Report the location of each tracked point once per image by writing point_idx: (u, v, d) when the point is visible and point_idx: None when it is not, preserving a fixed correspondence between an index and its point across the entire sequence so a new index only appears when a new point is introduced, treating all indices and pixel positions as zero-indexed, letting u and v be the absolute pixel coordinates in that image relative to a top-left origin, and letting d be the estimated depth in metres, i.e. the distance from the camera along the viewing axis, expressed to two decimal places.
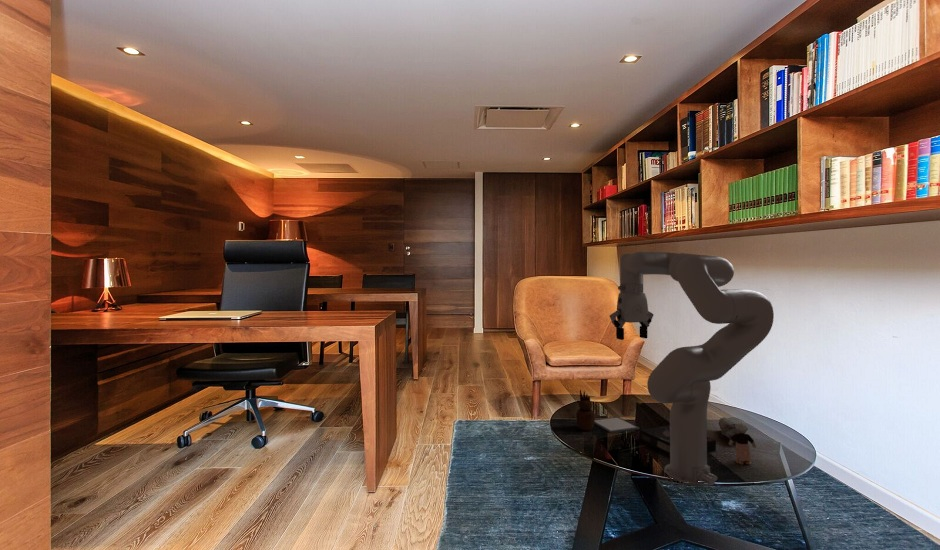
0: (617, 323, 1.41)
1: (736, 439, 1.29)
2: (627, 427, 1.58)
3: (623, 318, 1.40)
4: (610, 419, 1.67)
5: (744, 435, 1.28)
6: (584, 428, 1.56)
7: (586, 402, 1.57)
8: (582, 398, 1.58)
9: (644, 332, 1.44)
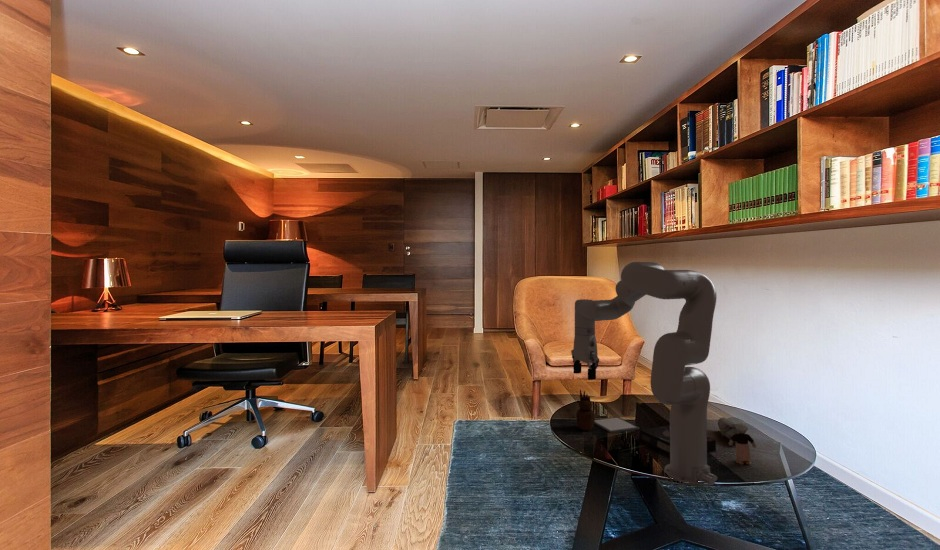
0: None
1: (736, 439, 1.29)
2: (627, 427, 1.58)
3: None
4: (610, 419, 1.67)
5: (744, 435, 1.28)
6: (584, 428, 1.56)
7: (586, 402, 1.56)
8: (582, 398, 1.58)
9: (580, 368, 1.63)
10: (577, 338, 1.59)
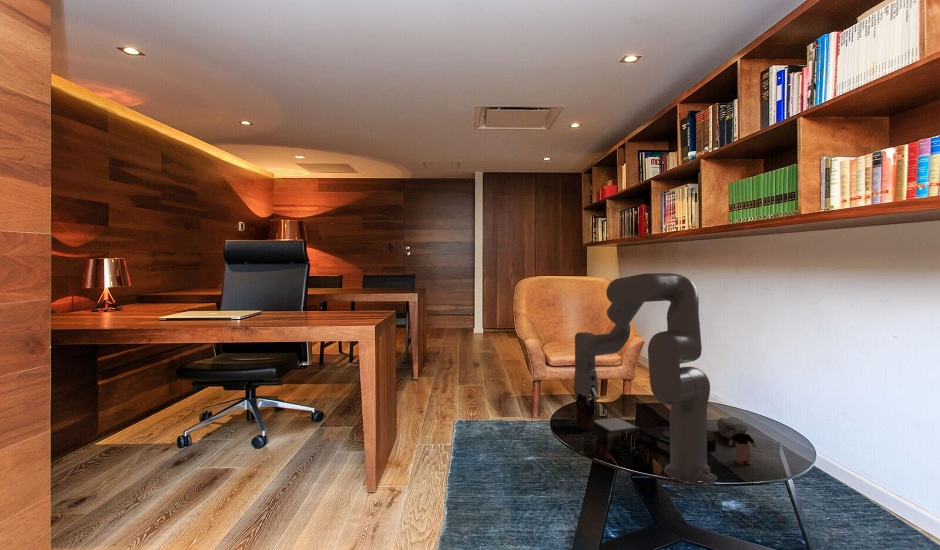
0: None
1: (736, 439, 1.29)
2: (627, 427, 1.58)
3: (597, 393, 1.54)
4: (610, 419, 1.67)
5: (744, 435, 1.28)
6: (584, 428, 1.56)
7: (586, 402, 1.57)
8: (582, 398, 1.58)
9: None
10: (578, 371, 1.58)
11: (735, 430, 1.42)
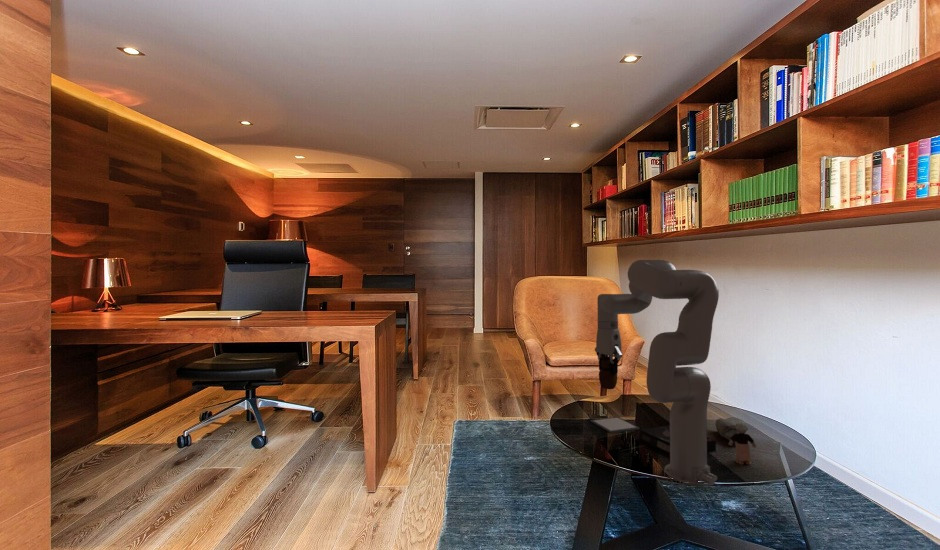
0: None
1: (736, 439, 1.29)
2: (627, 427, 1.58)
3: (620, 352, 1.57)
4: (610, 419, 1.67)
5: (744, 435, 1.28)
6: (607, 387, 1.59)
7: (609, 361, 1.60)
8: (605, 358, 1.61)
9: None
10: (601, 332, 1.62)
11: (735, 431, 1.41)
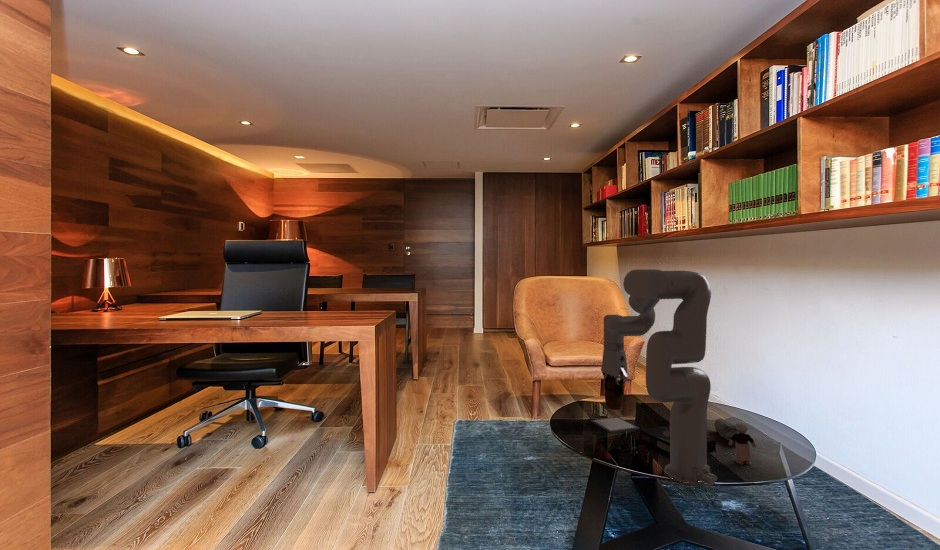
0: None
1: (736, 439, 1.29)
2: (627, 427, 1.58)
3: (626, 373, 1.58)
4: (610, 419, 1.67)
5: (744, 435, 1.28)
6: (613, 407, 1.60)
7: (615, 382, 1.61)
8: (611, 378, 1.62)
9: None
10: (607, 352, 1.62)
11: (735, 431, 1.41)
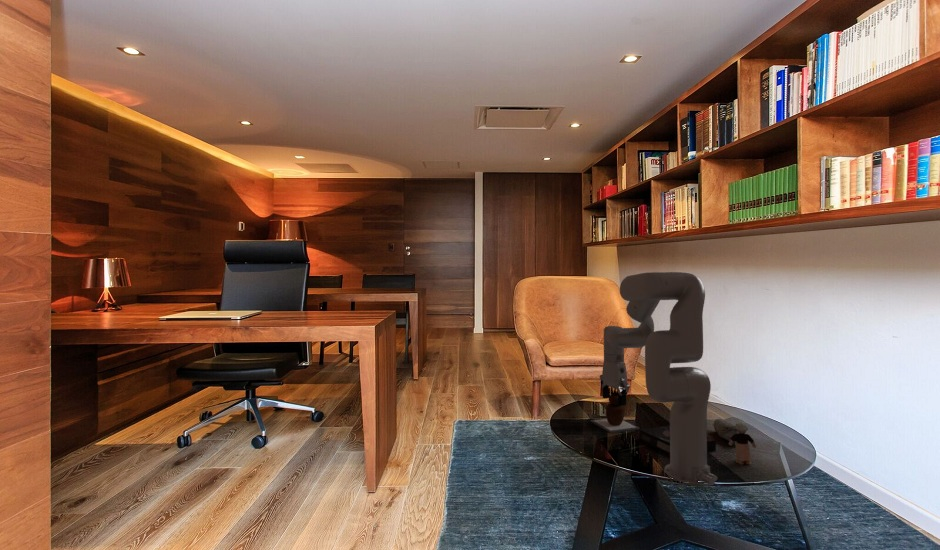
0: None
1: (736, 439, 1.29)
2: (627, 427, 1.58)
3: None
4: None
5: (744, 435, 1.28)
6: (614, 422, 1.60)
7: (617, 397, 1.60)
8: (613, 393, 1.62)
9: (609, 393, 1.67)
10: (607, 364, 1.62)
11: (735, 431, 1.41)
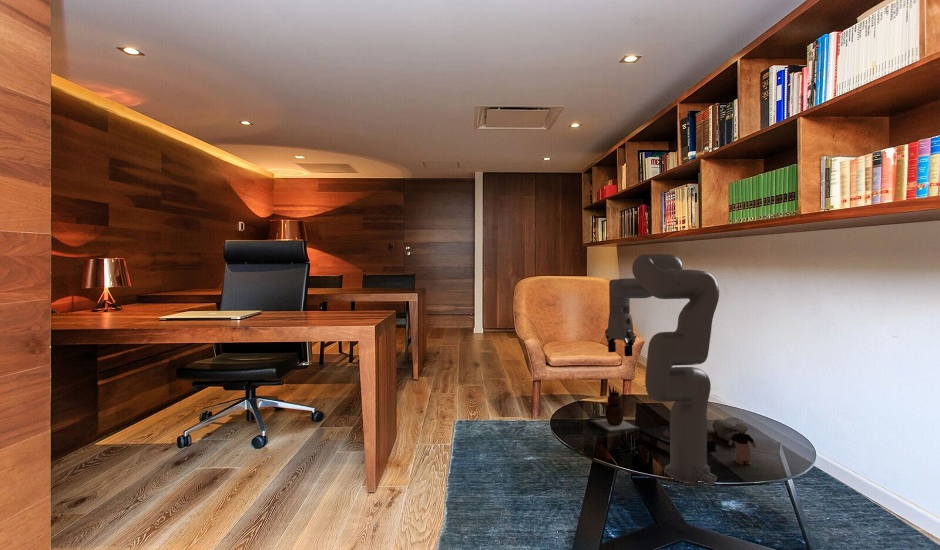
0: None
1: (736, 439, 1.29)
2: (627, 427, 1.58)
3: None
4: None
5: (744, 435, 1.28)
6: (614, 423, 1.60)
7: (615, 397, 1.60)
8: (611, 394, 1.62)
9: (614, 347, 1.67)
10: (613, 317, 1.63)
11: (735, 432, 1.40)
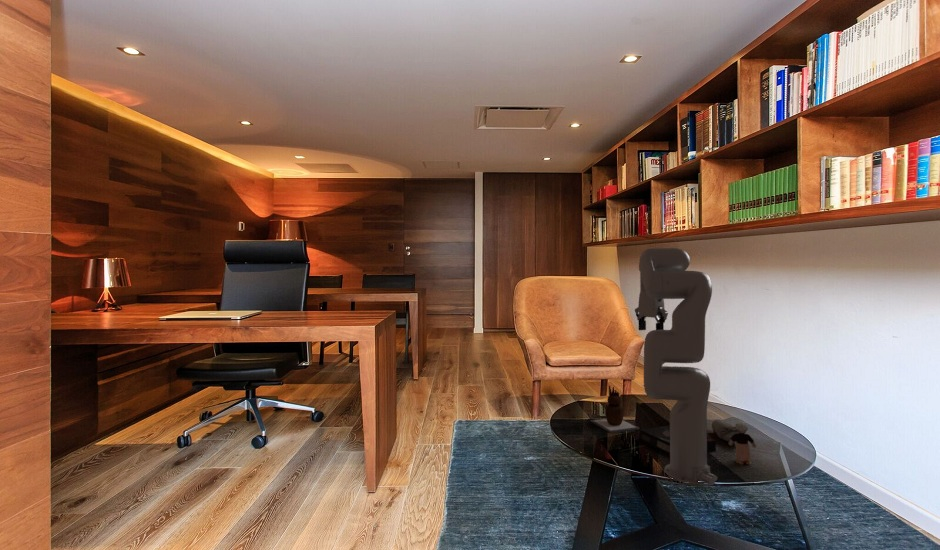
0: None
1: (736, 439, 1.29)
2: (627, 427, 1.58)
3: None
4: None
5: (744, 435, 1.28)
6: (614, 423, 1.60)
7: (615, 397, 1.60)
8: (611, 394, 1.62)
9: (644, 325, 1.70)
10: (644, 295, 1.65)
11: (735, 432, 1.40)
